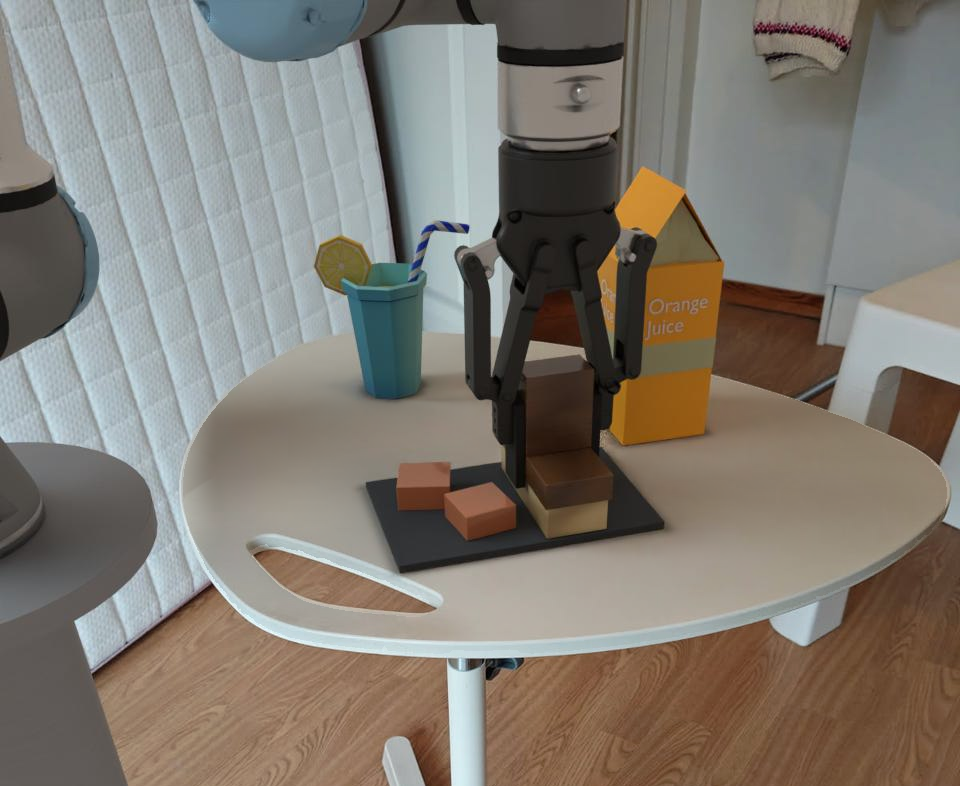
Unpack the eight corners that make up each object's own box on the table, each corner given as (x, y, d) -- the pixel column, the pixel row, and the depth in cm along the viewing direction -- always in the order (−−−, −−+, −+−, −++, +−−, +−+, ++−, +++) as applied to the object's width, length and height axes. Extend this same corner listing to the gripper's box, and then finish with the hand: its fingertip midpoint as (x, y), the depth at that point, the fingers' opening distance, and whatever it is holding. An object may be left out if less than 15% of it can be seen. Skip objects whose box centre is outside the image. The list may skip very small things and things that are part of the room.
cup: (466, 364, 101) (461, 206, 92) (481, 395, 95) (477, 229, 86) (326, 378, 99) (307, 218, 90) (332, 411, 93) (312, 242, 84)
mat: (399, 573, 71) (398, 566, 71) (366, 488, 81) (365, 481, 81) (664, 528, 75) (664, 521, 75) (601, 452, 85) (601, 446, 85)
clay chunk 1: (398, 510, 77) (396, 487, 76) (401, 485, 80) (399, 462, 79) (450, 509, 77) (449, 486, 76) (451, 484, 80) (450, 461, 79)
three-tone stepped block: (545, 541, 73) (547, 403, 66) (498, 467, 82) (496, 340, 76) (610, 530, 74) (618, 393, 67) (556, 458, 83) (559, 333, 77)
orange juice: (665, 394, 94) (686, 161, 82) (706, 434, 87) (735, 186, 75) (585, 405, 93) (595, 169, 81) (620, 446, 86) (637, 195, 74)
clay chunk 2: (467, 541, 73) (466, 517, 72) (444, 517, 76) (443, 493, 75) (516, 528, 74) (516, 504, 73) (492, 504, 77) (492, 481, 76)
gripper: (430, 161, 58) (447, 516, 72) (719, 136, 62) (682, 479, 76) (403, 137, 64) (424, 469, 78) (668, 115, 67) (643, 437, 81)
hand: (551, 473), depth 77 cm, fingers closed on three-tone stepped block, 5 cm apart
